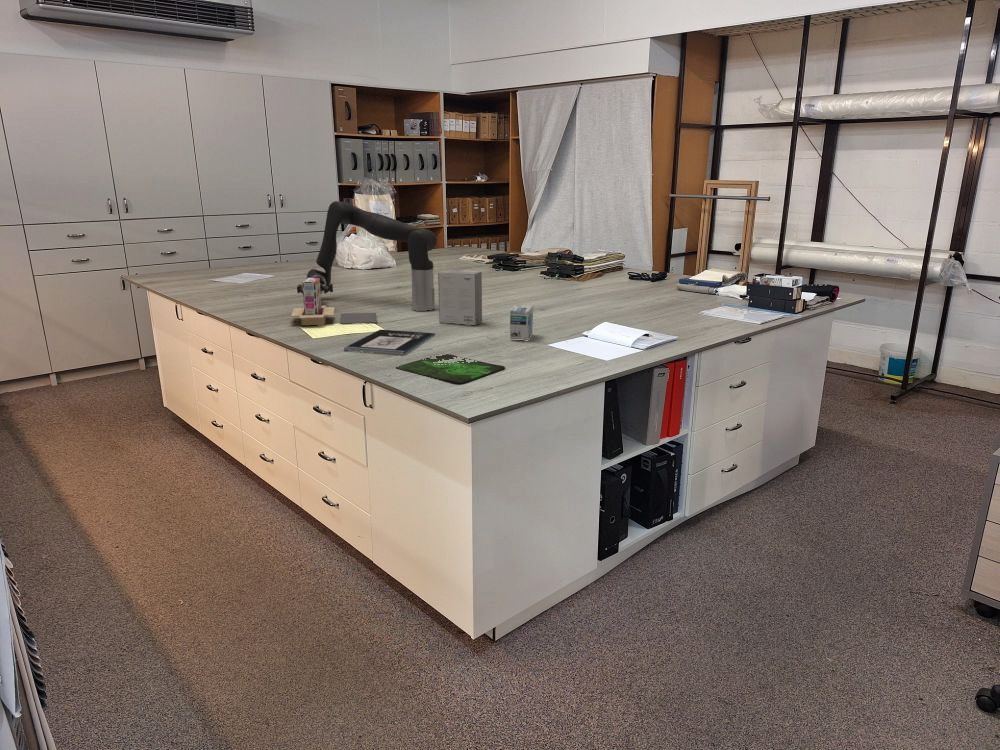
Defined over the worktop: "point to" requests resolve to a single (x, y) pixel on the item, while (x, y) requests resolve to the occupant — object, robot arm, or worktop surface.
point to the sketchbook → (390, 342)
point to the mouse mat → (451, 369)
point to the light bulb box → (521, 322)
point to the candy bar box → (312, 296)
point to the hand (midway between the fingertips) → (314, 291)
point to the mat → (358, 318)
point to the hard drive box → (460, 297)
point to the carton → (313, 316)
